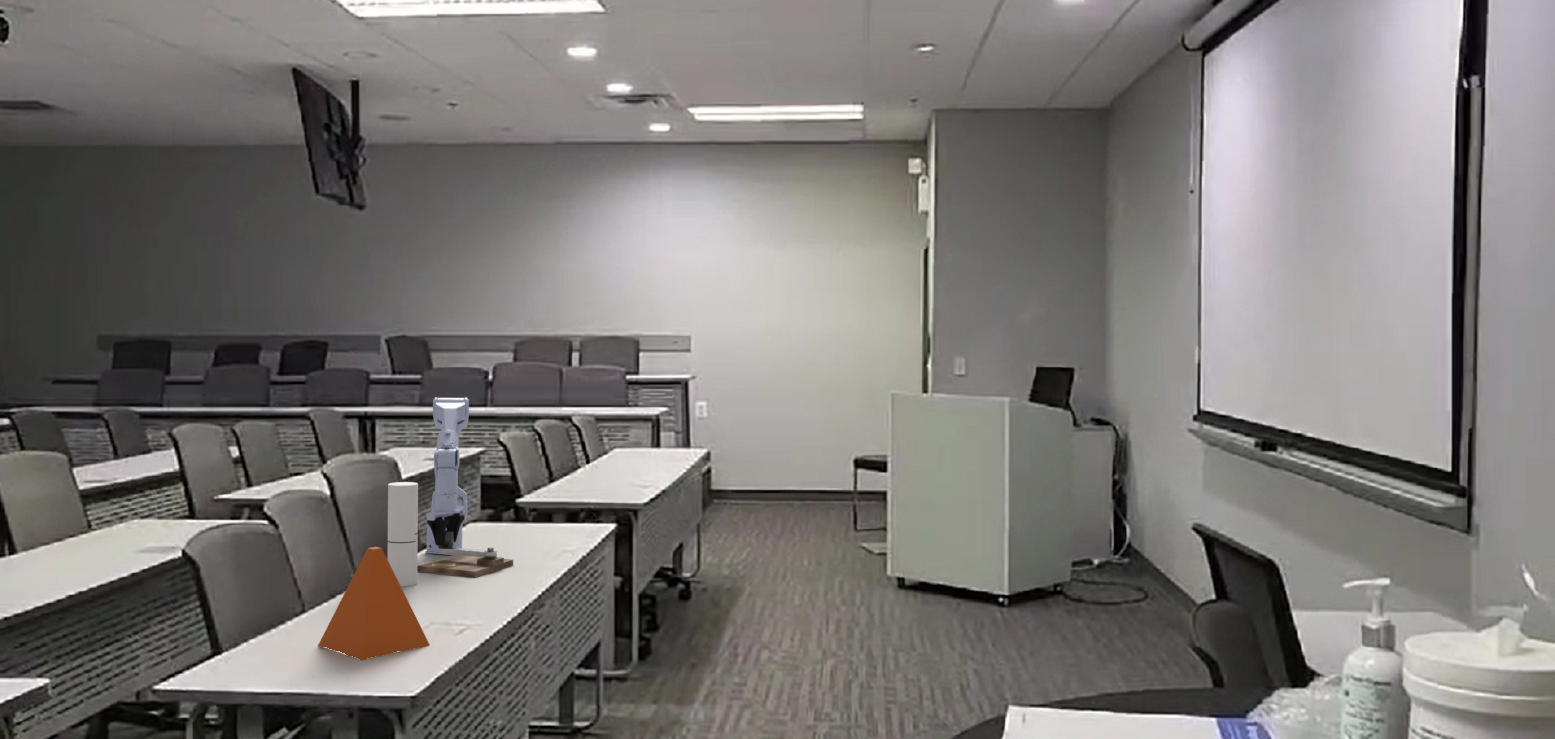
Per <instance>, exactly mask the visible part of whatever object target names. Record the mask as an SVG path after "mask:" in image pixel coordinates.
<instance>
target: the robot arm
mask: <svg viewBox="0 0 1555 739" xmlns="http://www.w3.org/2000/svg"><path fill="white" fill-rule="evenodd" d="M469 414H470V399H469V398H468V397H436V396H435V397H434V398H433V400H432V418H433V423H434V427H435V428H437V429H439V430H440V432H439V433H438V434H437V437H436V438H437V439H436V450H434V451H433V468H434V477H435V479H434V480H435V481H434V482H435V487H434V488H435V489H434V492H433V494H432V496H431V499H432V500H431V507H430V508H431V509H430V512H426V522H427V523H426V524H428V525H427V528H426V550H425V551H424V553H425V554H433V555H444V556H445V555H446V556H453V554H442V553H440V549H439V548H438V545H440V546H443V545H444V540H445V531H446V530H452V531H454V542H453V547H455V548H463V522H464V521H466V519H467V518H468V494H467V492H466V491H465V490H464V489H462V488H461V487H459V486H458V484H459V483H458V482H459V480H458V478H459V468H460V449H459V445H460V440H459V439H460V435H461V432H462V430H464V429H465V428H468V424H469Z"/></svg>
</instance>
